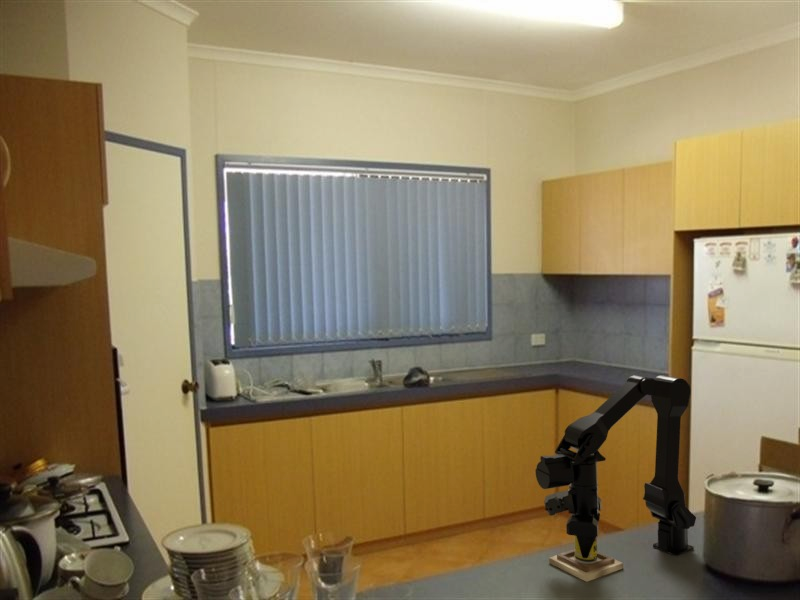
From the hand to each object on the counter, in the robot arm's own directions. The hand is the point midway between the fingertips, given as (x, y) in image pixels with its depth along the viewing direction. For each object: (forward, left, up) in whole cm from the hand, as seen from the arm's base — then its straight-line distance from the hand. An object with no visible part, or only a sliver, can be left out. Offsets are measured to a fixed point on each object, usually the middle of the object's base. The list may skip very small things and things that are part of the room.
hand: (585, 552), depth 143 cm
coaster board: (0, 0, -3) cm, 3 cm away
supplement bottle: (0, 0, -2) cm, 2 cm away
